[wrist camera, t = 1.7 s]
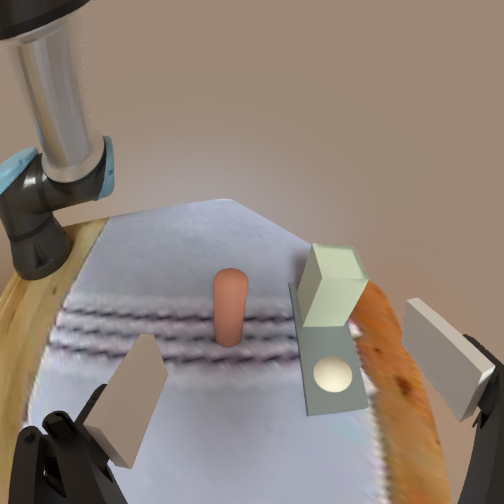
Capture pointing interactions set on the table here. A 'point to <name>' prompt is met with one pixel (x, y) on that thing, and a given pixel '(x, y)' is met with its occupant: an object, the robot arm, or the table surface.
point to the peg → (229, 306)
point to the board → (328, 366)
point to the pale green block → (330, 285)
